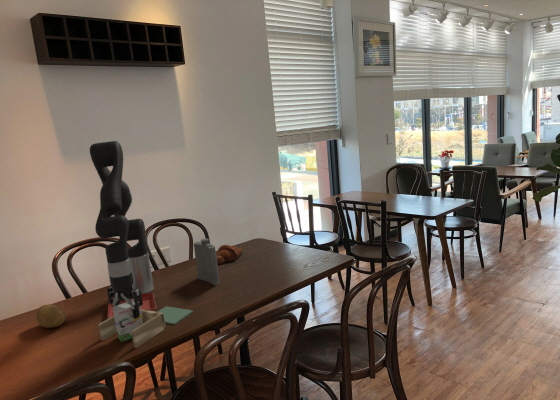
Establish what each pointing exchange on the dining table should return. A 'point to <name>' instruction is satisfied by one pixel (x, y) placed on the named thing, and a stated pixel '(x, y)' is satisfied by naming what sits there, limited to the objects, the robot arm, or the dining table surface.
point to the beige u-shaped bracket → (141, 334)
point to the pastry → (227, 254)
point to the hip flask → (206, 262)
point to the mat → (174, 314)
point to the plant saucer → (146, 298)
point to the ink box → (126, 321)
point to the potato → (50, 316)
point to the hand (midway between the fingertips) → (127, 316)
